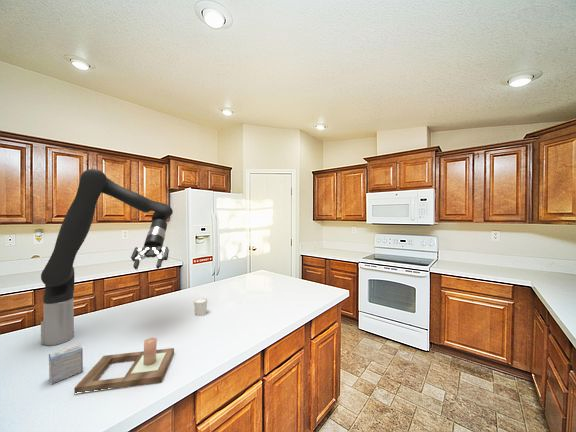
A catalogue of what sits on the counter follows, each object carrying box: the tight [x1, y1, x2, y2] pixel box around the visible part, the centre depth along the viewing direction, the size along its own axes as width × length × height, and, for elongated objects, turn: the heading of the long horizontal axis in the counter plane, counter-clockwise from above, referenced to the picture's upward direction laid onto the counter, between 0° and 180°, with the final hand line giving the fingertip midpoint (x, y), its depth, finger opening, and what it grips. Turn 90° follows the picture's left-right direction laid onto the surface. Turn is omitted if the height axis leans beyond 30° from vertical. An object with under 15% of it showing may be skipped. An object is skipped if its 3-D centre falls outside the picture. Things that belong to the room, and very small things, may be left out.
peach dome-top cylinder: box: [143, 337, 158, 365], centre depth 83 cm, size 4×4×8 cm
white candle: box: [193, 298, 208, 317], centre depth 127 cm, size 7×7×7 cm
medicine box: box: [48, 343, 84, 385], centre depth 79 cm, size 8×4×9 cm, turn 141°
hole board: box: [73, 347, 175, 394], centre depth 81 cm, size 24×16×2 cm, turn 103°
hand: (146, 268), depth 101 cm, fingers open, 8 cm apart
